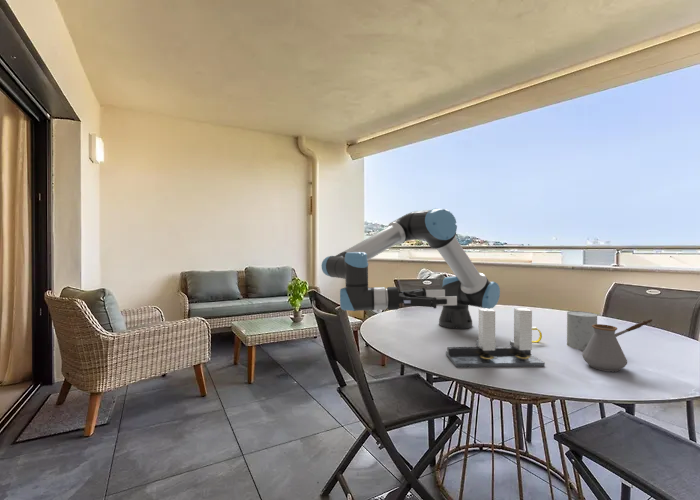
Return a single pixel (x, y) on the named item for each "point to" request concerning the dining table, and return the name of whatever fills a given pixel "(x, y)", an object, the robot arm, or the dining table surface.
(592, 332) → the grey concrete cylinder
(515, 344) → the fixed leg
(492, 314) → the block
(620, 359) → the coffee pot
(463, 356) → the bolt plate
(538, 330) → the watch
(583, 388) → the dining table surface
